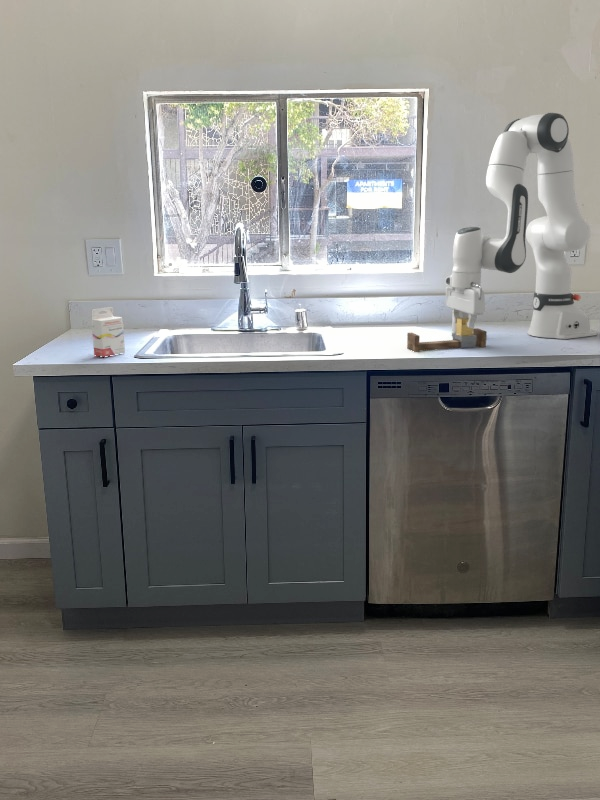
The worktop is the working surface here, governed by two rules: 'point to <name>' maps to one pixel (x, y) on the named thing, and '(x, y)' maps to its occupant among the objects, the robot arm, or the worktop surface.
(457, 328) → the slider
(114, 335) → the ink cartridge box
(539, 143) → the robot arm
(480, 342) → the rail
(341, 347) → the worktop surface
